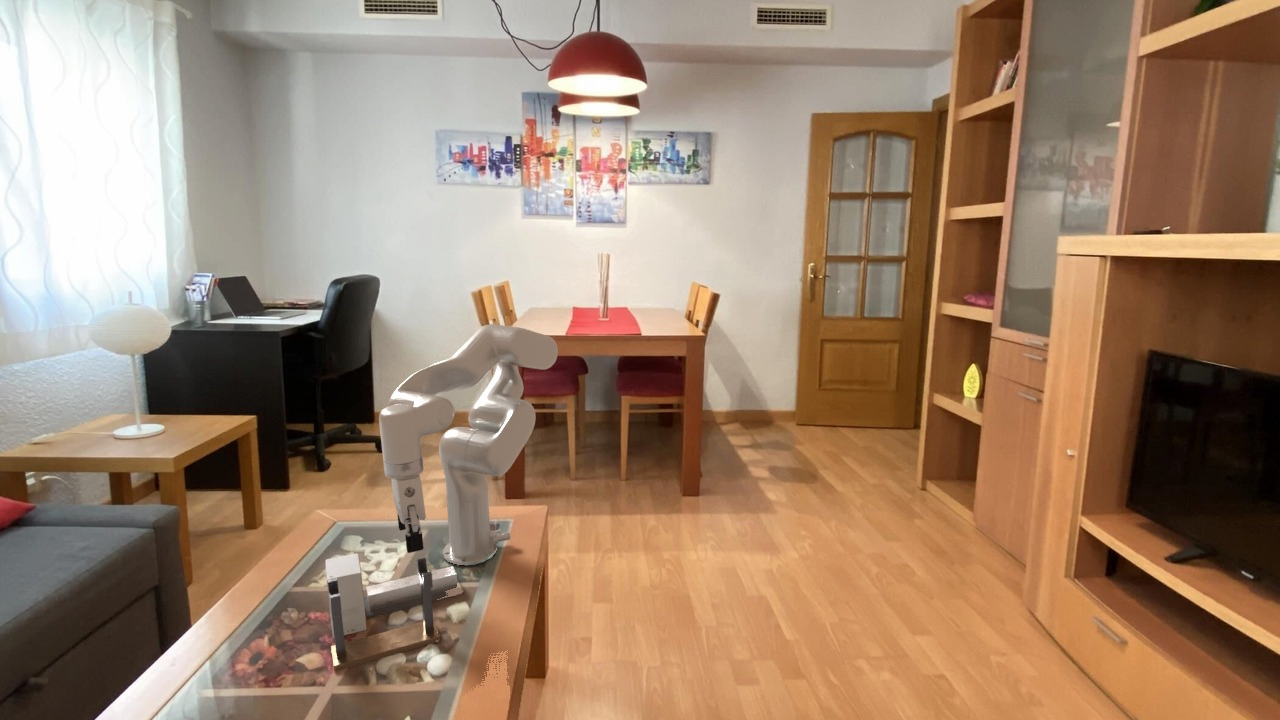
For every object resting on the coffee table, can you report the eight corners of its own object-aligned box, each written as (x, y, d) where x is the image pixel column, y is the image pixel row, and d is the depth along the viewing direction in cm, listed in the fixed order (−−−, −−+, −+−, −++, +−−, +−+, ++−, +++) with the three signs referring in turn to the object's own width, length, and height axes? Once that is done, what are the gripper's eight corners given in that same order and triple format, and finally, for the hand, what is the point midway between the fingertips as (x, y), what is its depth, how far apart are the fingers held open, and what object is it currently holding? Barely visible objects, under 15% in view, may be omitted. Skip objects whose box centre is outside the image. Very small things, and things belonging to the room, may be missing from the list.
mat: (456, 577, 156) (456, 574, 155) (464, 593, 150) (464, 591, 149) (361, 600, 147) (361, 598, 146) (365, 619, 141) (365, 616, 140)
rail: (453, 579, 154) (452, 566, 153) (457, 588, 151) (456, 573, 150) (367, 601, 145) (366, 587, 144) (369, 610, 142) (368, 595, 141)
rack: (433, 623, 140) (429, 556, 136) (440, 641, 134) (435, 572, 130) (331, 651, 131) (323, 581, 127) (334, 671, 126) (325, 599, 122)
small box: (367, 630, 137) (361, 572, 134) (332, 639, 135) (325, 580, 131) (364, 607, 144) (358, 552, 141) (330, 615, 142) (324, 559, 138)
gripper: (431, 478, 134) (438, 555, 139) (414, 446, 149) (421, 516, 154) (391, 486, 131) (399, 564, 136) (378, 452, 146) (386, 524, 151)
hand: (411, 539), depth 145 cm, fingers open, 9 cm apart
